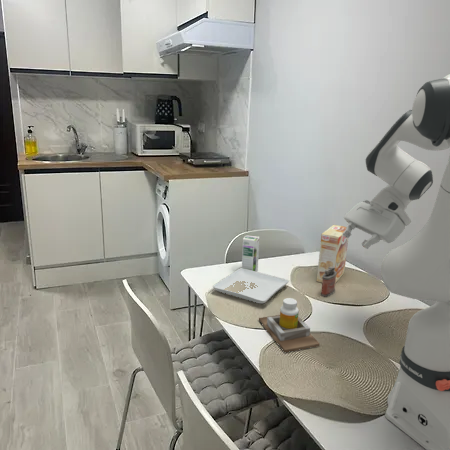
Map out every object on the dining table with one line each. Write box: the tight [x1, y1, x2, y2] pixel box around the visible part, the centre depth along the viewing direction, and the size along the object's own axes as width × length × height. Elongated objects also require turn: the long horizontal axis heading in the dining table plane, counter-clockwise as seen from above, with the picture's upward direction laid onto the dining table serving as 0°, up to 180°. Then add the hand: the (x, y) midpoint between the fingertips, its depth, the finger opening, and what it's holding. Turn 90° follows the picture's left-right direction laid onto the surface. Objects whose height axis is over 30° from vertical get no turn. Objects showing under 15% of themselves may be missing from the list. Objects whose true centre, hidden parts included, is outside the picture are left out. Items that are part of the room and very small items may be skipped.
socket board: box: [258, 314, 320, 353], centre depth 125 cm, size 18×11×4 cm, turn 19°
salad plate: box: [212, 267, 289, 304], centre depth 152 cm, size 21×21×3 cm
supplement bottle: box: [279, 297, 300, 330], centre depth 123 cm, size 5×5×10 cm
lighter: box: [320, 266, 337, 298], centre depth 150 cm, size 8×3×10 cm, turn 141°
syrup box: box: [241, 234, 261, 272], centre depth 167 cm, size 6×6×14 cm
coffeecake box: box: [316, 224, 349, 284], centre depth 162 cm, size 15×7×20 cm, turn 148°
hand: (354, 241), depth 123 cm, fingers open, 8 cm apart
